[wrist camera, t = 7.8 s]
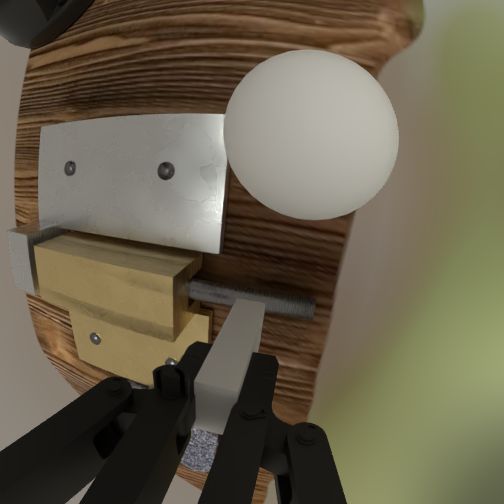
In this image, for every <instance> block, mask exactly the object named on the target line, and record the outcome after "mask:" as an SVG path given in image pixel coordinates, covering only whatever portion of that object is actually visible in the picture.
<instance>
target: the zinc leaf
mask: <svg viewBox="0 0 504 504" xmlns="http://www.w3.org/2000/svg"><path fill="white" fill-rule="evenodd" d="M224 117H225V114H148V115H131V116H118V117H107V118H97V119H88V120H81V121H73V122H67V123H60V124H54V125H48V126H43V127H41V134H40V147H39V167H38V205H39V221H35V222H32V223H29V224H26V225H22V226H19V227H16V228H13V229H10V230H7V236H8V245H9V253H10V259H11V266H12V272H13V278H14V284H15V287H17V288H19V289H21V290H24V291H26V292H28V293H30V294H33V295H35V296H36V295H37V294H39V293H41V292H40V287H39V281H38V275H37V268H36V260H35V252H34V245H37V244H40V243H42V242H45V241H47V240H50V239H53V238H56V237H58V236H61V235H64V234H67V233H69V230H68V229H70V230H76V231H82V232H88V233H94V234H100V235H105V236H111V237H117V238H123V239H129V240H135V241H141V242H147V243H153V244H159V245H165V246H171V247H177V248H184V249H190V250H196V251H202V252H208V253H214V254H220V253H221V252H222V251H223V246H224V234H225V222H226V211H227V200H228V189H229V179H230V169H231V166H230V163H229V160H228V157H227V155H226V151H225V145H224V138H223V128H224ZM188 298H190V299H195V300H200V301H204V302H209V303H214V304H219V305H225V306H230V307H233V305H234V303H235V301H236V299H237V298H240V299H245V300H251V301H257V302H262V303H266V304H265V311H264V313H269V314H274V315H280V316H287V317H293V318H299V319H306V320H312V319H313V315H314V311H315V304H316V299H314V298H307V297H301V296H295V295H288V294H282V293H276V292H270V291H264V290H258V289H252V288H246V287H240V286H235V285H229V284H224V283H218V282H213V281H207V280H202V279H197V278H190V279H189V284H188Z"/></svg>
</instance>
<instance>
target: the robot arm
mask: <svg viewBox="0 0 504 504" xmlns="http://www.w3.org/2000/svg"><path fill="white" fill-rule="evenodd" d="M92 2H93V0H0V35H1V36H3V37H4V38H5V39H6V40H8V41H9V42H10V43H11V44H14V45H17V46H20V47H25V48H29V49H33V48H38V47H40V46H43V45H45V44H47V43H48V42H50V41H52V40H53V39H54V38H56V37H57V36H59V35H60V34H61V33H62V32H63V31H65V30H66V29H67V28H68V27H69V26H70V25H71V24H72V23H73V22H74V21H75V20H76V19H77V18H78V17H79V16H80V15H81V14H82V13H83V12H84V11H85V10H86V9H87V7H88V6H89V5H90V4H91V3H92ZM265 304H266V303H262V302H257V301H251V300H245V299H240V298H237V299H236V301H235V303H234V305H233V307H232V309H231V311H230V313H229V315H228V317H227V318H226V320H225V322H224V324H223V326H222V328H221V330H220V332H219V334H218V336H217V338H216V340H215V342H214V344H209V343H204V342H200V341H196V342H194V343H193V344H191V345H189V346H188V348H187V349H186V351H185V353H184V355H183V356H182V357H181V359H180V360H179V362H178V364H177V365H171V364H168V365H162V366H159V367H157V368H155V369H154V370H153V371H152V373H153V381H154V388H153V389H138V388H132V387H131V384H130V383H129V382H128V381H127V380H126V379H124V378H121V377H109V378H106V379H104V380H102V381H101V382H100V383H98V384H97V385H95V386H94V387H93V388H91V389H90V390H88V391H87V392H85V393H84V394H83V395H81V396H80V397H78V398H77V399H76V400H74V401H73V402H71V403H70V404H68V405H67V406H66V407H64V408H63V409H62V410H60V411H59V412H57V413H56V414H54V415H53V416H51V417H50V418H48V419H47V420H46V421H44V422H43V423H41V424H40V425H38V426H37V427H35V428H34V429H33V430H31V431H30V432H29V433H27V434H26V435H24V436H22V437H21V438H19V439H18V440H17V441H15V442H14V443H12V444H11V445H9V446H8V447H6V448H5V449H3V450H2V451H0V504H65V503H66V502H67V501H69V500H70V499H71V498H72V497H73V496H74V495H76V494H77V493H78V492H79V491H80V490H82V489H83V488H84V487H85V486H86V485H87V484H89V483H90V482H91V481H92V480H93V479H94V478H95V477H96V478H95V480H94V481H93V483H92V484H91V486H90V487H89V489H88V491H87V492H86V494H85V495H84V497H83V498H82V500H81V501H80V503H79V504H162V502H163V499H164V497H165V495H166V493H167V491H168V488H169V486H170V484H171V482H172V479H173V477H174V475H175V473H176V471H177V468H178V466H179V464H180V462H181V459H182V457H183V455H184V453H185V450H186V448H187V446H188V443H189V441H190V439H191V429H192V427H193V424H194V422H195V428H197V429H201V430H205V431H209V432H213V433H217V434H221V435H222V438H221V440H220V443H219V446H218V449H217V452H216V455H215V457H214V460H213V463H212V466H211V469H210V471H209V474H208V477H207V480H206V482H205V485H204V488H203V490H202V493H201V496H200V498H199V501H198V504H251V501H252V497H253V493H254V489H255V484H256V480H257V475H258V471H259V467H261V468H263V469H265V470H268V471H270V472H272V473H274V479H275V486H276V494H277V501H278V504H347V502H346V499H345V495H344V492H343V489H342V486H341V482H340V479H339V475H338V472H337V469H336V465H335V462H334V459H333V455H332V452H331V449H330V445H329V442H328V439H327V436H326V434H325V432H324V430H323V429H322V428H320V427H319V426H318V425H315V424H313V423H307V422H302V423H297V424H295V425H293V426H292V425H289V424H287V423H285V422H283V421H281V420H279V419H278V418H277V417H276V416H275V415H274V413H273V411H272V400H273V394H274V389H275V383H276V378H277V372H278V366H279V363H278V361H277V359H276V356H273V355H267V354H261V353H257V352H258V348H259V344H260V338H261V331H262V325H263V318H264V311H265Z"/></svg>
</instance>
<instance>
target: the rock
mask: <svg viewBox="0 0 504 504" xmlns="http://www.w3.org/2000/svg"><path fill="white" fill-rule="evenodd" d="M127 381H128V382H129V383H130V384H131V387H132V388H138V389H153V387H150V386H147V385H144V384H141V383H138V382H136V381H133V380H130V379H129V380H127ZM217 446H218V434H217V433H213V432H209V431H205V430H201V429H197V428H195V422H194V424H193V427H192V429H191V439H190V441H189V443H188V446H187V448H186V450H185V453H184V455H183V457H182V459H181V463H182V464H183V465H184V466H186V467H187V468H189V469H192V470H195V471H199V472H207V471H209V470H210V469H211V466H212V463H213V460H214V457H215V454H214V451H215V449H216V448H217Z"/></svg>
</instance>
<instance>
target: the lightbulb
mask: <svg viewBox="0 0 504 504" xmlns="http://www.w3.org/2000/svg"><path fill="white" fill-rule="evenodd" d="M223 138H224V145H225V151H226V155H227V157H228V160H229V163H230V166H231V168H232V170H233V171H234V173H235V175H236V176H237V178H238V180H239V181H240V183H241V184H242V185H243V186H244V187H245V188H246V190H247V191H248V192H249V193H250V194H251V195H252V196H253V197H254V198H256V199H257V200H258V201H260V202H261V203H262V204H264V205H265V206H266V207H268V208H270V209H272V210H274V211H276V212H278V213H280V214H283V215H286V216H290V217H293V218H297V219H306V220H323V219H332V218H336V217H339V216H342V215H346V214H349V213H350V212H352V211H354V210H356V209H358V208H360V207H362V206H363V205H365V204H366V203H367V202H368V201H370V200H371V199H372V198H373V197H374V196H375V195H377V193H378V192H379V191H380V190H381V188H382V187H383V186H384V184H385V183H386V182H387V180H388V178H389V176H390V174H391V172H392V170H393V168H394V165H395V162H396V158H397V154H398V146H399V131H398V125H397V119H396V115H395V112H394V110H393V107H392V105H391V102H390V100H389V98H388V97H387V95H386V93H385V92H384V90H383V89H382V87H381V85H380V84H379V83H378V82H377V81H376V80H375V79H374V78H373V77H372V75H371V74H370V73H369V72H367V71H366V70H365V69H363V68H362V67H361V66H359V65H358V64H356V63H355V62H353V61H351V60H349V59H347V58H345V57H342V56H340V55H337V54H334V53H330V52H326V51H321V50H307V49H305V50H296V51H288V52H285V53H282V54H279V55H276V56H273V57H271V58H269V59H267V60H266V61H264V62H262V63H260V64H259V65H257V66H256V67H255V68H254V69H253V70H251V71H250V72H249V73H248V74H247V75H246V76H245V77H244V78H243V80H242V81H241V82H240V83H239V85H238V86H237V87H236V89H235V90H234V92H233V94H232V96H231V99H230V101H229V103H228V106H227V109H226V113H225V117H224V128H223Z"/></svg>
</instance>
